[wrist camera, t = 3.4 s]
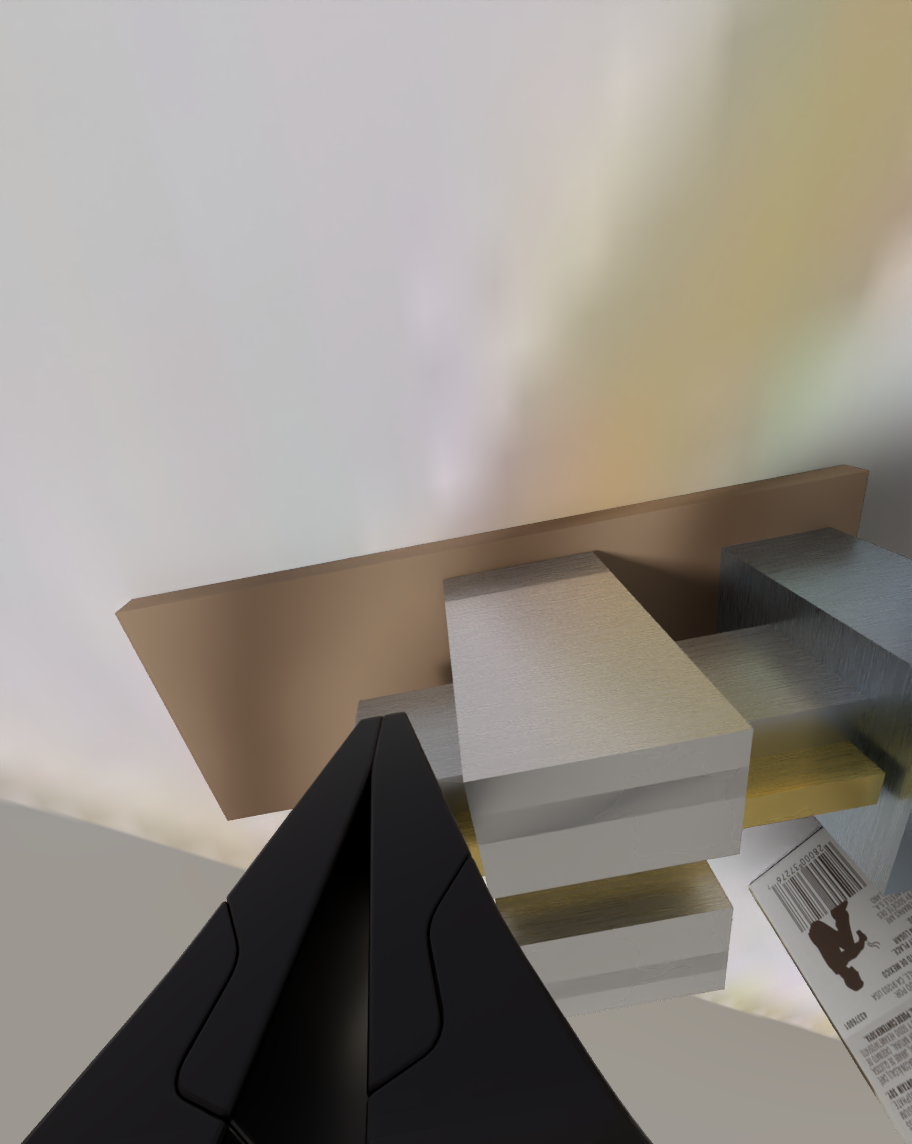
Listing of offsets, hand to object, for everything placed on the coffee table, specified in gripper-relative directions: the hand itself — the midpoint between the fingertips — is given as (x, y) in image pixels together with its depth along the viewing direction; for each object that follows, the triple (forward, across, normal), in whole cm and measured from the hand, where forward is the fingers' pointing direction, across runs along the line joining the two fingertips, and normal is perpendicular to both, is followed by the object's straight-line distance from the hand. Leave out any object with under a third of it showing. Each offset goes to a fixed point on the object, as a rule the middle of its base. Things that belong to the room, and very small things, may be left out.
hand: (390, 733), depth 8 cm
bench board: (+6, -3, +3) cm, 7 cm away
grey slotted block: (+5, -3, +3) cm, 6 cm away
